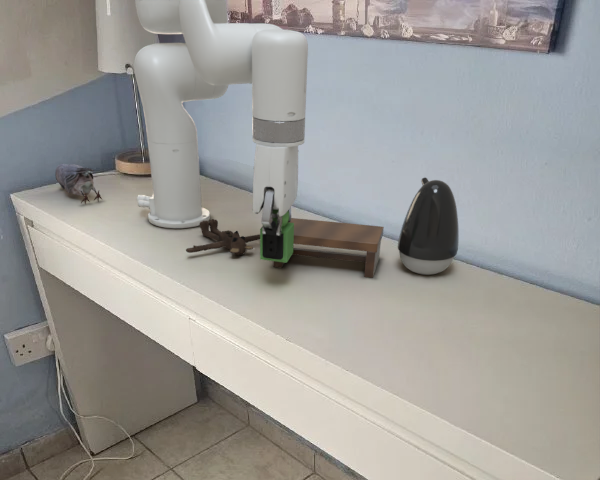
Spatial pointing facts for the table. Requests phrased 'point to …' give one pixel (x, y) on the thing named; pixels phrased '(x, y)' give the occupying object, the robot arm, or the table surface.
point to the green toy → (287, 238)
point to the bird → (76, 180)
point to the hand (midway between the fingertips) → (276, 250)
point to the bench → (338, 241)
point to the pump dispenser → (430, 229)
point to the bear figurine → (223, 239)
